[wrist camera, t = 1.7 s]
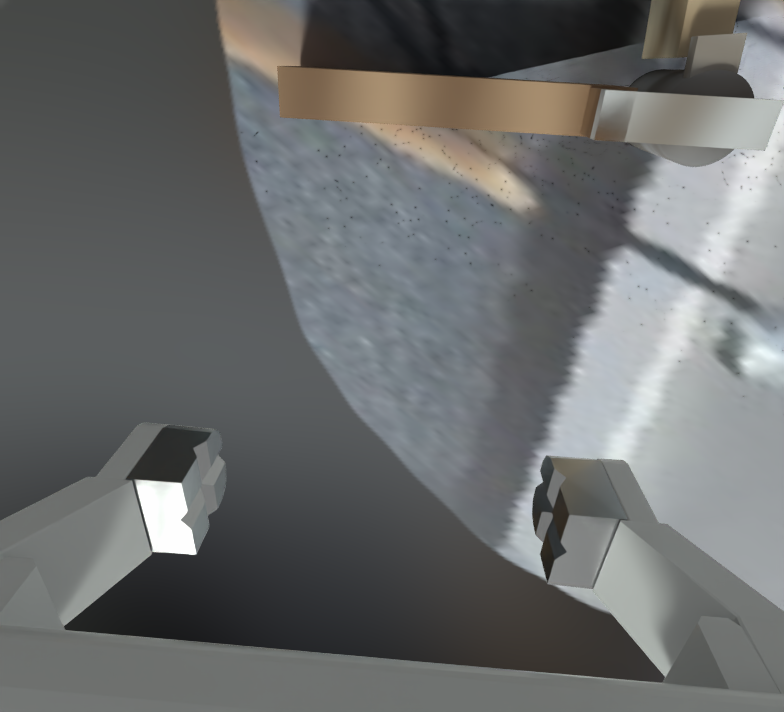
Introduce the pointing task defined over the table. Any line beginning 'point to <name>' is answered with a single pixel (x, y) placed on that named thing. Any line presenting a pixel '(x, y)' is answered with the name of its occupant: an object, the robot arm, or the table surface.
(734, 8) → the base
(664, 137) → the tongs jaw
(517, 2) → the table surface
